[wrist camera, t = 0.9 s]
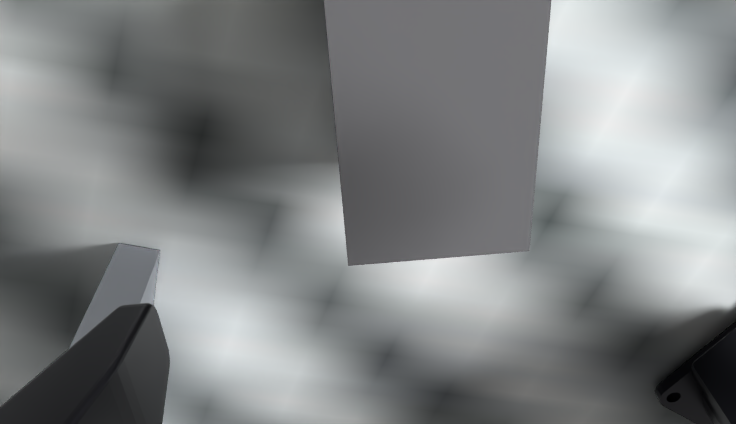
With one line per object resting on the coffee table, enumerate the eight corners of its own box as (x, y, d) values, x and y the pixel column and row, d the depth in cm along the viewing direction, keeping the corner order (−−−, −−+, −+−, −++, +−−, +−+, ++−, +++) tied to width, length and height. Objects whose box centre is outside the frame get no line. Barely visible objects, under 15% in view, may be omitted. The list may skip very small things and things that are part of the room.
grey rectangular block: (482, 150, 19) (529, 251, 14) (342, 160, 19) (348, 265, 14) (491, -78, 16) (553, -34, 11) (322, -65, 15) (322, -17, 11)
